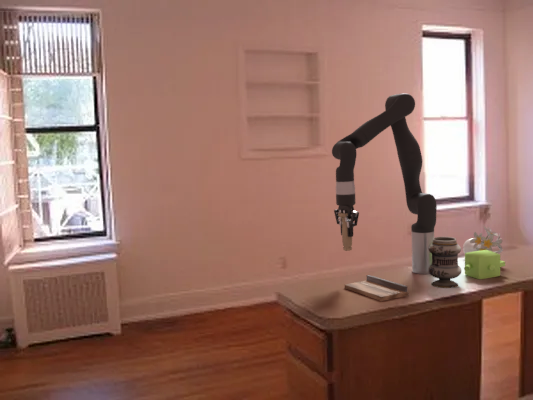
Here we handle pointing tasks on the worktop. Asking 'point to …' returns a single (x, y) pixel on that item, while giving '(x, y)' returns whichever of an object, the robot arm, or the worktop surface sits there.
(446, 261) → the apothecary jar
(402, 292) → the board
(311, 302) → the worktop surface
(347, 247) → the handle
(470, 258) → the gearbox
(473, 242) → the flower vase
